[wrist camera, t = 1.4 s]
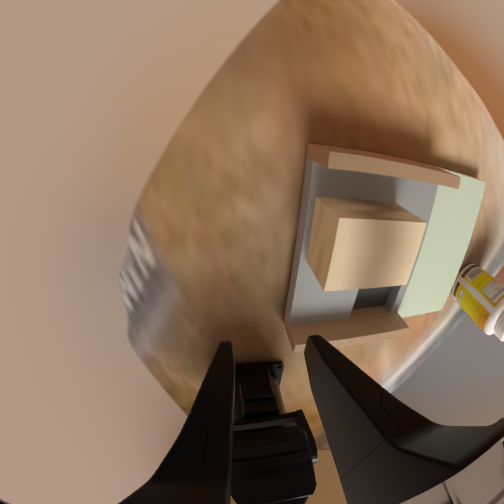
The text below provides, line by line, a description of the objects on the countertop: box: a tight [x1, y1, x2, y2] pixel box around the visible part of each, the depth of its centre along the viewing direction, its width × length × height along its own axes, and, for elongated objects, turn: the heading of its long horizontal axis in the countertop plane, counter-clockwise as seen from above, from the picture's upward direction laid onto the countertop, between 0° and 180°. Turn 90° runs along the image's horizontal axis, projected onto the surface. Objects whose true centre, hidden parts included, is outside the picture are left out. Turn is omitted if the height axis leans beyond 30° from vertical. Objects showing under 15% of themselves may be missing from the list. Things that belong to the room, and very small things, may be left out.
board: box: [283, 143, 486, 353], centre depth 21 cm, size 20×16×4 cm
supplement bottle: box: [452, 264, 504, 341], centre depth 23 cm, size 6×6×10 cm
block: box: [306, 197, 427, 291], centre depth 18 cm, size 7×5×4 cm
